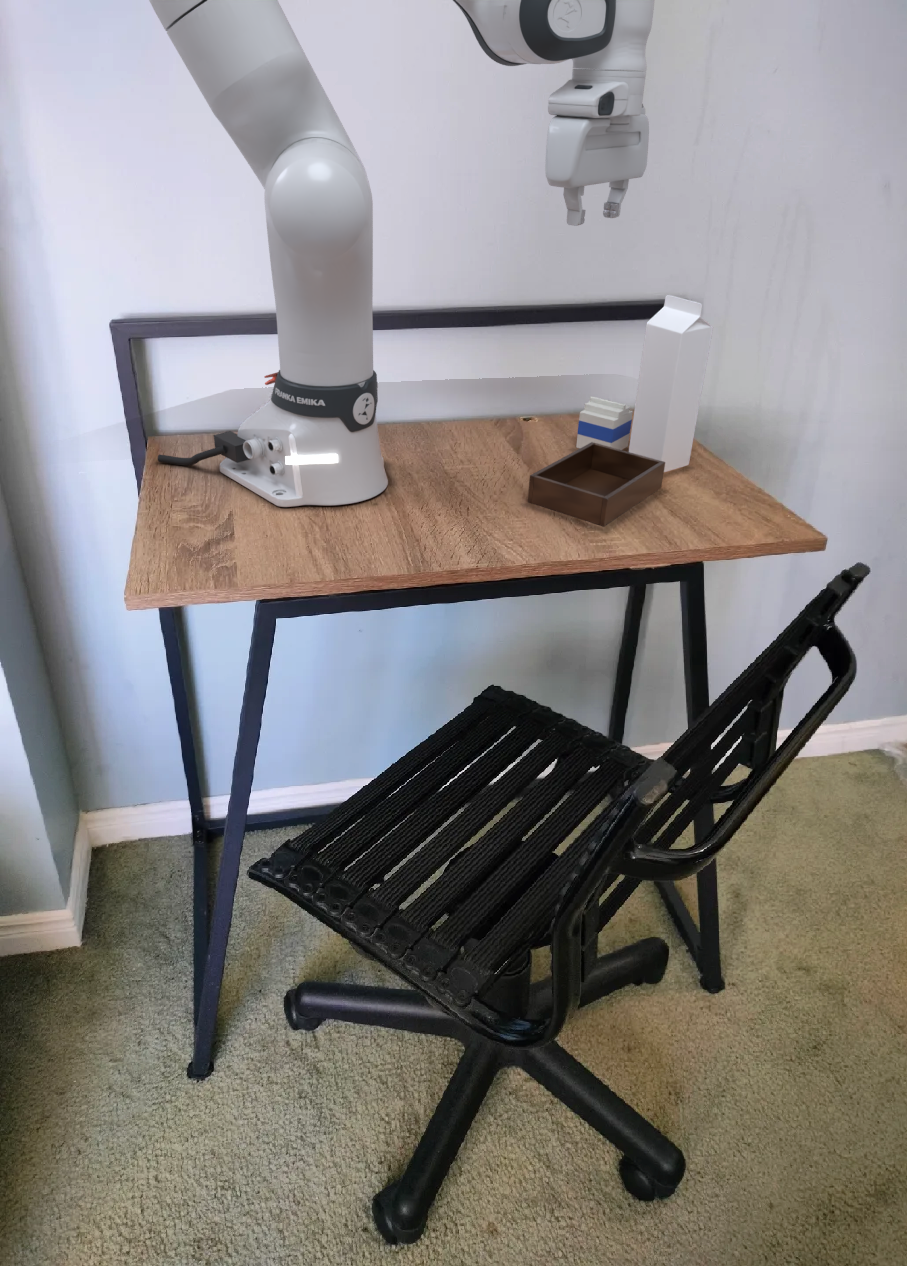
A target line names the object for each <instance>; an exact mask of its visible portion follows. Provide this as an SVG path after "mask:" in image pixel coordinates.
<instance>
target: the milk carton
mask: <svg viewBox="0 0 907 1266" xmlns="http://www.w3.org/2000/svg"><path fill="white" fill-rule="evenodd" d="M583 407H584V408H583V410H581V411H579V416H578V423H577V424H578V425H577V432H576V433H577V436H576V444H575V447H576V448H577V449H580V448H582V447H584V446H585V445H587V444H589V443H591V442H594V443H597V444H601V445H605V446H608V447H612V448H616V449H619V450H624V449H626V448H629V443H630V436H631V430H632V423H633V415H634V411H633V410H630V409H631V406H629V405H627V404H625V403H622V402H616V401H612V400H609V399H605V398H601V397H597V396H592V395H591V396H589V401H587V402H585V403H584V406H583Z"/></svg>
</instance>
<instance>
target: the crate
mask: <svg viewBox="0 0 907 1266" xmlns="http://www.w3.org/2000/svg"><path fill="white" fill-rule="evenodd" d="M664 467H665V462H663V461H659V460H656V459H652V458H649V457H645V456H641V455H638V454H634V453H630V452H629V451H628V450H627V451H626V450H624V449H622V450H619V449H616V448H612V447H608V446H605V445H601V444H597V443H594V442H591V443H589V444H587V445H585V446H584V447H582V448H577V449H576V450H574V451H573V452H571V453H569V454H567V455H565V456H563V457H562V458H559V459H558V460H556V461H554V462H552V463H550V464H548V465H546V466H545V467H543V468H540V470H539V469H538V470H537V471H535V472H533V473H532V474H530V475H529V479H528V480H529V481H528V493H527V503H529V504H532V505H535V506H538V507H540V508H544V509H547V510H551V511H553V512H557V513H559V514H563V515H566V516H568V517H572V518H575V519H577V520H581V521H585V522H587V523H591V524H593V525H596V526H600V527H603V528H605V527H606V526H608V525H609V524H611V523H612V522H614V521H615V520H616V519H618V518H619V517H621V516H622V515H624V514H625V513H627V512H628V511H630V510H631V509H633V508H635V507H636V506H637V505H638V504H640V503H641V502H643V501H644V500H646V499H647V498H649V497H650V496H652V495H654V494H655V493H656V492H658V491H659V490H661V489H662V486H663V485H662V484H663V478H664V473H665V472H664Z"/></svg>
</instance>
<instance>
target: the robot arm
mask: <svg viewBox="0 0 907 1266" xmlns="http://www.w3.org/2000/svg"><path fill="white" fill-rule="evenodd" d="M148 2H149V3H150V5H151V7H152V9H153V11H154V13H155V14H156V17H157V18H158V21H159V22H160V24H161V26H162V27H163V29H164V31H165V32H166V34H167V36H168V37H169V40H170V41H171V43H172V45H173V46H174V48H175V50H176V51H177V53H178V55H179V57H180V59H181V60H182V62H183V64H184V66H185V67H186V69H187V70H188V72H189V74H190V76H191V77H192V79H193V81H194V82H195V84H196V86H197V88H198V89H199V92H200V93H201V95H202V97H203V98H204V100H205V102H206V103H207V106H208V107H209V109H210V111H211V112H212V114H213V116H214V117H215V118H216V119H217V120H218V122H219V123H220V124H221V125H222V127H223V128H224V130H225V131H226V133H227V134H228V136H229V137H230V139H231V140H232V141H233V143H234V144H235V146H236V148H237V149H238V150H239V152H240V154H241V155H242V156H243V158H244V159H245V161H246V162H247V164H248V166H249V167H250V168H251V170H252V172H253V173H254V175H255V176H256V178H257V179H258V181H259V183H260V185H261V186H262V188H263V190H264V198H263V199H264V211H265V222H266V232H267V233H266V234H267V242H268V252H269V261H270V262H269V263H270V269H271V280H272V287H273V294H274V303H275V316H276V330H277V331H276V332H277V344H278V357H279V370H278V371H277V372H274V373H270V374H267V375H264V379H267V378H268V380H267V381H265V382H264V385H265V386H268V385H272V384H274V385H273V389H272V392H271V397H270V400H269V401H267V402H266V403H264V405H262V406H261V407H260V408H258V410H256V411H255V412H253V413H252V414H250V415H249V416H248V417H246V418H245V420H243V421H242V423H240V425H239V428H238V430H237V433H235V432H234V431H231V430H229V431H224V432H221V433H217V434H213V443H214V448H210V449H207V450H204V451H201V452H198V453H195V454H194V455H192V456H191V457H178V456H173V455H167V454H161V453H160V454H158V455H157V462H159V463H162V464H163V463H165V464H170V465H176V466H193V465H194V466H195V465H196V464H198V463H199V462H201V461H204V460H207V459H210V458H213V457H216V456H223V457H225V458H224V459H223V460H222V461H221V462H220V463H219V472H220V473H221V474H223V475H224V476H226V477H228V478H229V479H230V480H231V479H232V481H235V482H237V483H238V484H240V485H242V486H243V487H245V488H247V490H249V491H251V492H253V493H254V494H256V495H258V496H260V497H261V498H263V499H264V500H266V501H268V502H269V503H272V504H273V505H275V506H277V507H280V508H290V507H291V508H292V507H299V506H342V505H343V506H344V505H349V504H356V503H359V502H363V501H366V500H370V499H372V498H375V497H377V496H378V495H380V494H382V493H383V492H384V491H385V490H386V489H387V487H388V485H389V480H388V475H387V472H386V470H385V461H384V457H383V456H382V449H381V442H380V435H379V429H378V428H379V427H378V421H377V420H378V419H377V415H376V413H377V405H378V401H379V399H378V397H379V396H378V395H379V394H378V393H379V392H378V388H379V383H378V374H377V371H375V370H374V325H373V324H374V321H373V318H374V317H373V296H374V295H373V290H374V289H373V283H374V282H373V281H374V279H373V277H374V271H373V269H374V253H373V252H374V245H373V244H374V240H373V239H374V209H373V208H374V206H373V204H374V203H373V194H372V189H371V186H370V182H369V178H368V175H367V171H366V168H365V166H364V163H363V161H362V159H361V157H360V156H359V153H358V152H357V149H356V147H355V145H354V144H353V142H352V140H351V138H350V136H349V134H348V132H347V131H346V129H345V126H344V125H343V123H342V121H341V119H340V117H339V116H338V113H337V111H336V110H335V108H334V106H333V104H332V102H331V99H330V98H329V97H328V96H329V95H328V94H327V93H326V91H325V89H324V87H323V85H322V83H321V81H320V79H319V77H318V75H317V74H316V72H315V69H314V68H313V66H312V64H311V62H310V61H309V58H308V57H307V55H306V53H305V51H304V49H303V47H302V45H301V43H300V41H299V39H298V37H297V35H296V33H295V31H294V29H293V28H292V26H291V24H290V21H289V20H288V18H287V16H286V14H285V12H284V9H283V8H282V5H281V4H280V2H279V0H148ZM452 2H454V3H455V4H456V6H457V7H458V8H459V9H460V11H461V12H462V14H463V15H464V17H465V18H466V21H467V22H468V24H469V27H470V28H471V30H472V33H473V36H474V37H475V39H476V41H477V43H478V45H479V46H480V48H481V49H482V51H483V52H484V53H485V54H486V56H488V57H489V58H490V59H491V60H492V61H493V62H495V63H497V64H499V65H502V66H505V67H518V66H522V65H555V64H560V63H563V62H566V61H568V60H571V61H572V70H571V79H568V80H567V81H566V82H565V83H564V84H563V85H562V86H561V87H559V88H558V89H556V90H555V91H553V92H552V93H551V94H550V95H549V97H548V100H547V101H548V102H547V112H548V114H549V115H550V116H553V117H552V119H551V120H550V122H549V124H548V125H549V126H548V128H547V134H546V146H545V147H546V148H545V166H544V167H545V168H544V171H545V178H546V180H547V183H548V185H549V186H550V187H556V188H563V199H564V203H565V207H566V210H567V211H566V212H567V213H566V224H567V225H568V226H574V227H577V226H578V227H579V226H582V225H583V224H584V223H585V217H586V209H583V202H582V196H584V194H585V187H586V186H594V185H600V184H606V183H609V184H608V187H609V188H610V190H609V193H608V197H607V200H606V202H605V201H604V202H603V211H602V215H603V217H604V218H607V219H609V218H610V219H615V218H619V217H620V215H621V207H622V203H623V201H624V199H625V197H626V194H627V191H628V189H629V182H630V180H632V179H639V178H642V177H643V175H644V174H645V171H646V170H647V169H646V168H647V165H648V154H649V140H650V121H649V118H648V116H647V115H646V108H645V107H644V103H643V101H644V93H645V85H646V76H647V67H648V66H647V58H646V49H647V43H648V39H649V36H650V34H651V32H652V26H653V18H654V10H655V0H452ZM269 378H271V379H269Z"/></svg>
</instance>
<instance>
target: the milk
mask: <svg viewBox="0 0 907 1266" xmlns="http://www.w3.org/2000/svg"><path fill="white" fill-rule="evenodd" d="M702 310H703V304H702V303H701V302H698V301H694V300H690V299H686V298H683V297H679V296H675V295H672V294H665V297H664V304H663V307H662V308H660V310H658V311H657V312H656V313H655V314H654V315H653V316H652V317H651V318H649V320H648V321H647V322H646V325H645V331H644V332H645V333H644V339H643V345H642V346H643V347H642V351H641V352H642V353H641V359H640V360H641V361H640V366H639V368H640V369H639V375H638V382H637V390H636V396H635V404H634V409H633V410H634V411H633V416H632V423H631V430H630V437H629V444H628V452H630V453H634V454H638V455H641V456H645V457H649V458H652V459H656V460H659V461H663V462H665V467H664V473H666V472H670V471H673V470H677V469H681V468H683V467H686V466H689V465H690V459H691V455H692V449H693V444H694V437H695V432H696V426H697V421H698V416H699V415H698V414H699V411H700V404H701V398H702V392H703V387H704V382H705V376H706V371H707V365H708V360H709V359H708V358H709V354H710V353H709V352H710V348H711V342H712V337H713V331H714V327H713V325H712V324H710V323H709V322H708V321H707V320H705V318H704V317H702Z"/></svg>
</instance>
